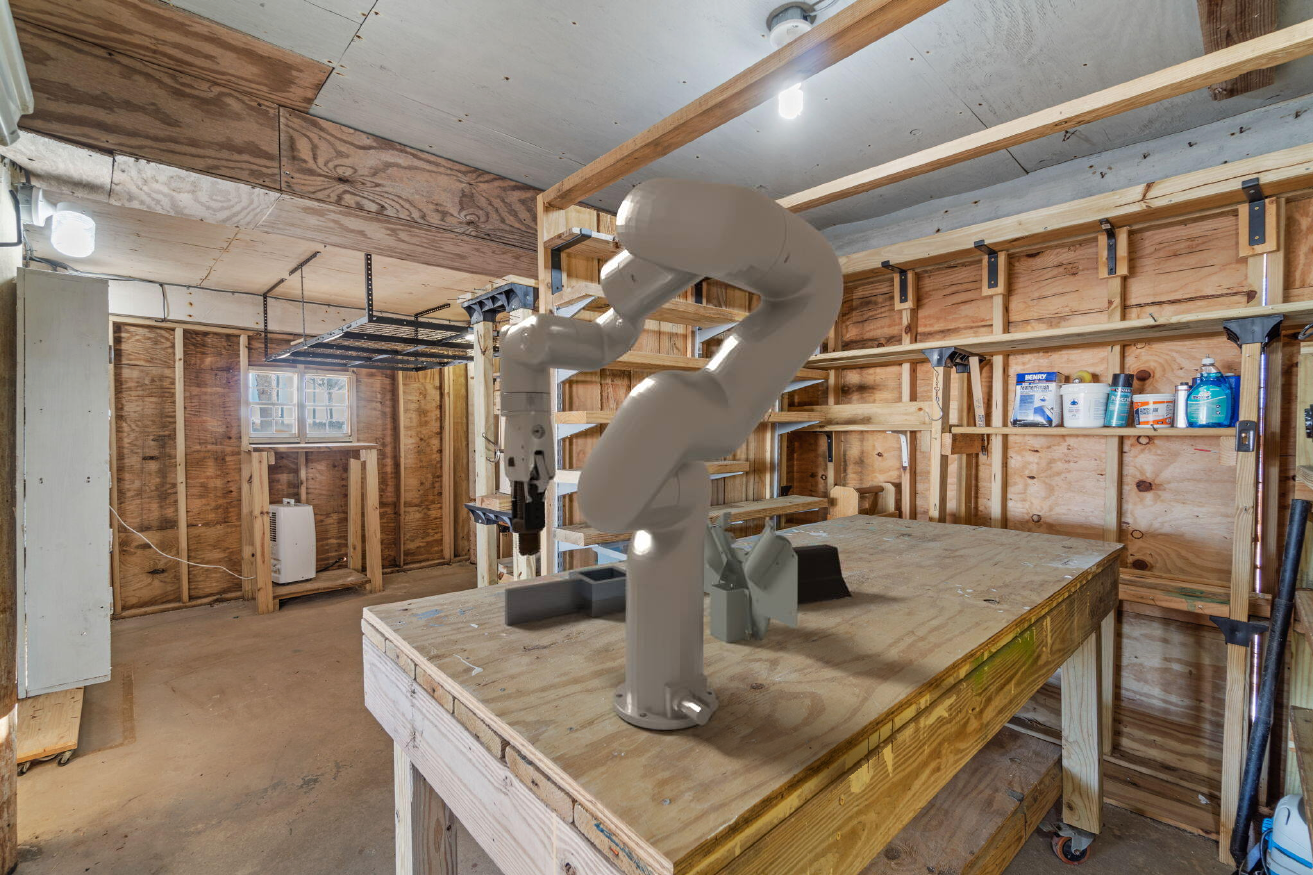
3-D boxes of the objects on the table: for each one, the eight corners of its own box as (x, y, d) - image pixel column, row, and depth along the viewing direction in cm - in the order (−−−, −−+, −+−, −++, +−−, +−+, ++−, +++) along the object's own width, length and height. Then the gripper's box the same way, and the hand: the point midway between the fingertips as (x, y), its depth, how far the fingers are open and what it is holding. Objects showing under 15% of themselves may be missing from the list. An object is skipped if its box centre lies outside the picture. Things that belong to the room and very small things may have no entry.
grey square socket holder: (698, 595, 113) (698, 566, 113) (516, 633, 92) (516, 597, 92) (670, 584, 122) (670, 556, 121) (496, 616, 101) (496, 583, 100)
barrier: (752, 612, 104) (752, 559, 104) (728, 599, 112) (729, 549, 112) (853, 598, 113) (853, 549, 113) (824, 587, 121) (825, 540, 121)
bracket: (814, 658, 82) (815, 523, 82) (780, 669, 79) (781, 527, 78) (701, 607, 106) (701, 502, 105) (670, 614, 102) (670, 504, 101)
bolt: (502, 556, 84) (500, 456, 84) (525, 550, 89) (523, 455, 89) (532, 559, 81) (530, 456, 82) (554, 552, 86) (552, 455, 86)
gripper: (572, 403, 80) (574, 530, 80) (529, 410, 94) (531, 518, 94) (521, 402, 76) (524, 536, 76) (484, 409, 90) (487, 523, 90)
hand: (528, 525), depth 85 cm, fingers closed on bolt, 4 cm apart
